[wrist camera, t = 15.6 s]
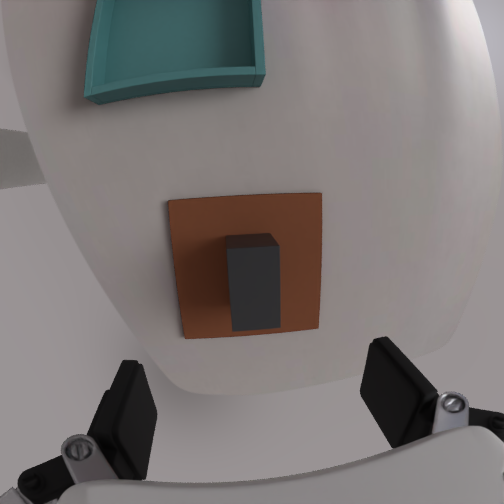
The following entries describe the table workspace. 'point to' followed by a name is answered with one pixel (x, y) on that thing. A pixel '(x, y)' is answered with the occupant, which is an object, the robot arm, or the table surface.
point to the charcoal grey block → (254, 281)
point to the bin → (173, 47)
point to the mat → (215, 259)
